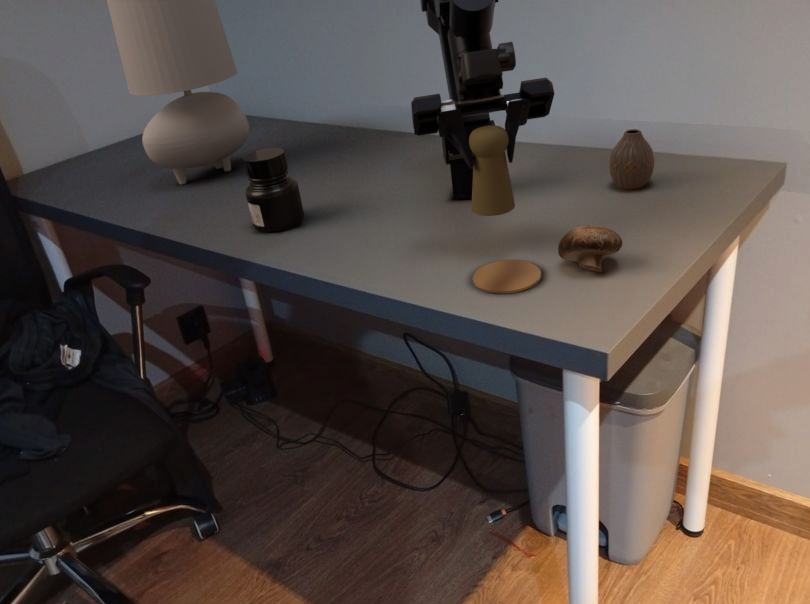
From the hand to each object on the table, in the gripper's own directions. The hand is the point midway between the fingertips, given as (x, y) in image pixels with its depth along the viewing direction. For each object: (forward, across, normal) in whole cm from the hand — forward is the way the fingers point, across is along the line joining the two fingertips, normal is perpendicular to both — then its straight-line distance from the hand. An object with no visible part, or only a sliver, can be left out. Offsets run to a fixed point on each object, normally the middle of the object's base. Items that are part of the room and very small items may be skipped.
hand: (491, 164), depth 97 cm
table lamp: (-33, -52, +53) cm, 81 cm away
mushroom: (+15, +11, +4) cm, 19 cm away
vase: (-4, +25, +23) cm, 34 cm away
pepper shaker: (+4, 0, +6) cm, 7 cm away
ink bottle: (-8, -34, +27) cm, 44 cm away
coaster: (+15, 0, +4) cm, 15 cm away
